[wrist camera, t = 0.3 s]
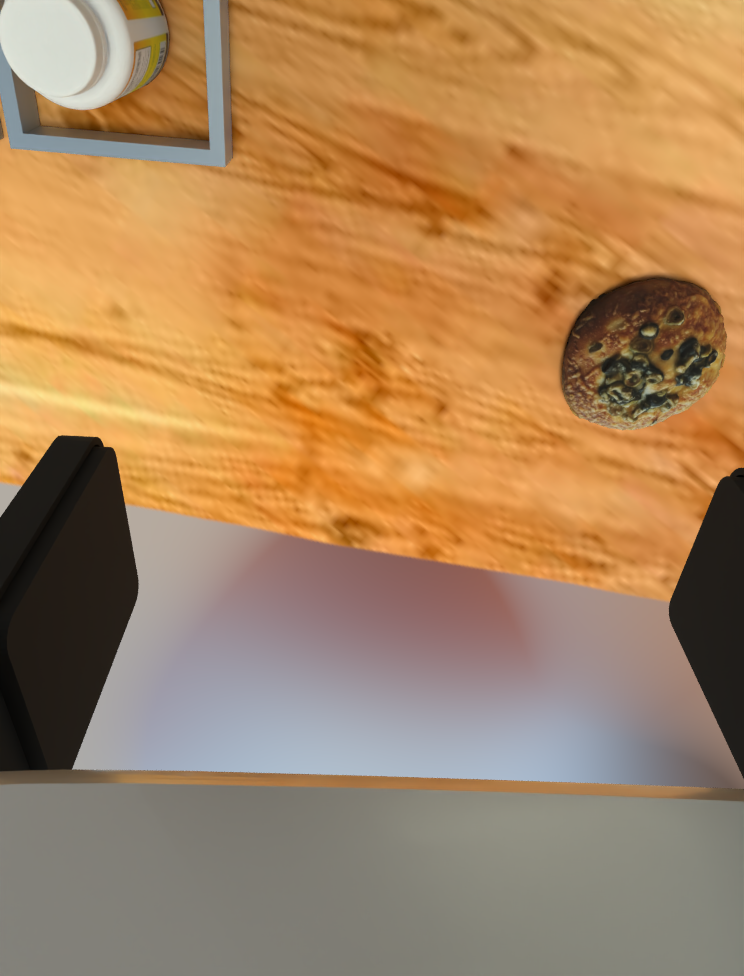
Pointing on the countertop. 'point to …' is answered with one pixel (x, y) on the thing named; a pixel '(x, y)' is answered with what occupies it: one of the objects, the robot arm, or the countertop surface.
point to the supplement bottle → (84, 47)
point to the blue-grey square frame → (122, 145)
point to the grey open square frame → (0, 132)
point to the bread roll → (643, 353)
